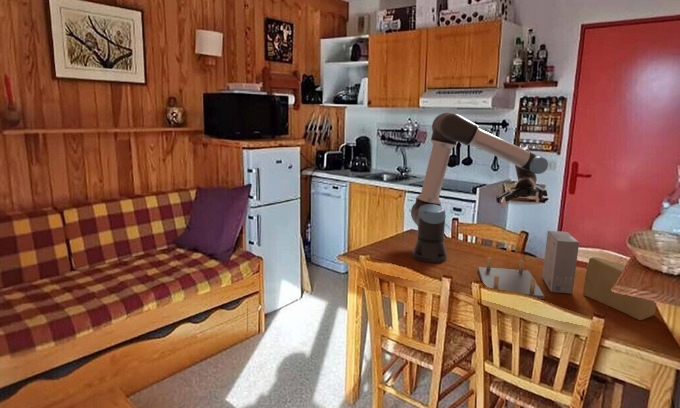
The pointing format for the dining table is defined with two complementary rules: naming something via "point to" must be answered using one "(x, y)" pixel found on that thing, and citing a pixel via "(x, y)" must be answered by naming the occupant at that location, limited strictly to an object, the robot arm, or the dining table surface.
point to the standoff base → (510, 279)
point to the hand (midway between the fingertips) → (519, 202)
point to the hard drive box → (560, 261)
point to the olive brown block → (599, 288)
